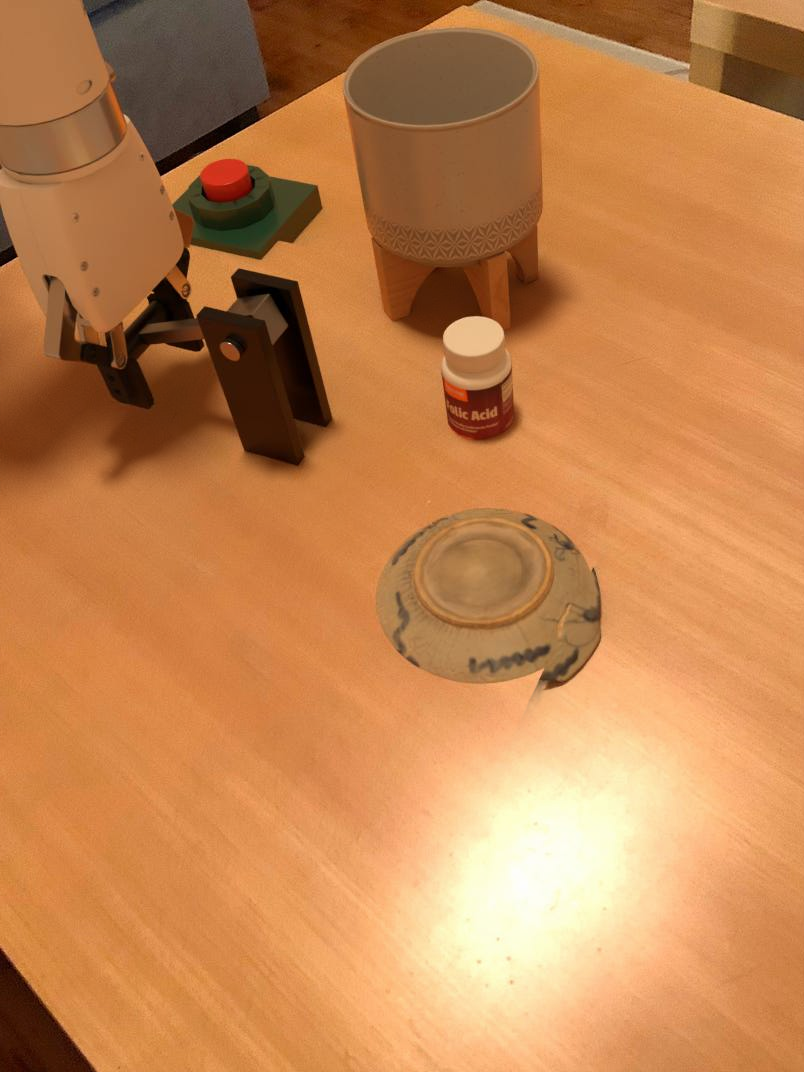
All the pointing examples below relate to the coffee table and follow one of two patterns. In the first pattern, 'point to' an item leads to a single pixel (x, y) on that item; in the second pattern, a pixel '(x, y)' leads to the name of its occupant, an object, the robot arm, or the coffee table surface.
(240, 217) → the button box
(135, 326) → the lever
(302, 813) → the coffee table surface
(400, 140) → the planter
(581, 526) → the coffee table surface
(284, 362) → the bracket
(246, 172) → the button
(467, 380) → the pill bottle
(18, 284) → the coffee table surface
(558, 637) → the decorative bowl
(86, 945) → the coffee table surface
